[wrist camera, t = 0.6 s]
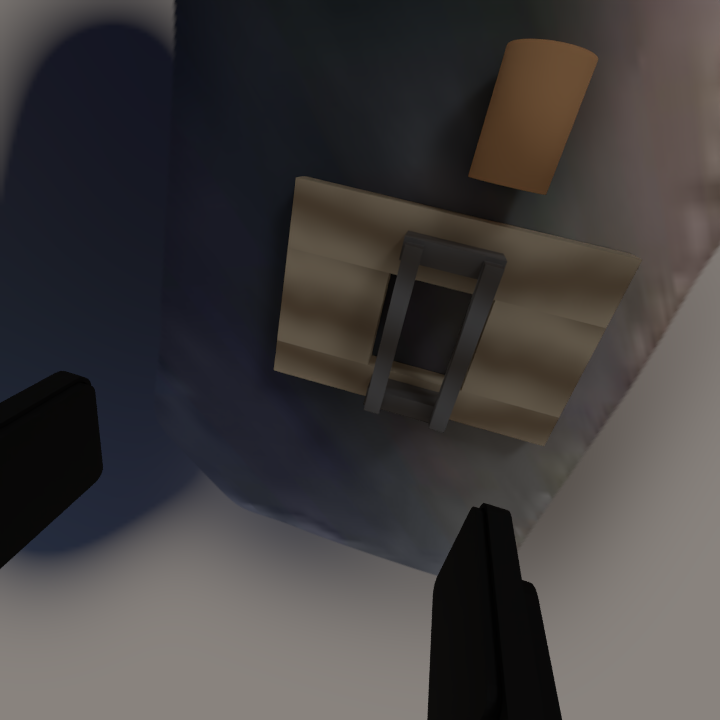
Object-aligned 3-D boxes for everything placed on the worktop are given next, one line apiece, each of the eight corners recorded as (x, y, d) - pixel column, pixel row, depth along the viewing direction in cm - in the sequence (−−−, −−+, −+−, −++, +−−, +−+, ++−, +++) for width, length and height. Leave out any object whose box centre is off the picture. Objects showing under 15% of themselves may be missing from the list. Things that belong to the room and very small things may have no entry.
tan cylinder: (501, 54, 26) (513, 32, 21) (582, 70, 25) (612, 52, 21) (466, 174, 29) (469, 178, 24) (537, 191, 28) (554, 197, 24)
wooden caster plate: (305, 176, 31) (276, 179, 26) (630, 253, 29) (667, 273, 24) (282, 360, 38) (256, 390, 33) (539, 432, 36) (553, 475, 31)
